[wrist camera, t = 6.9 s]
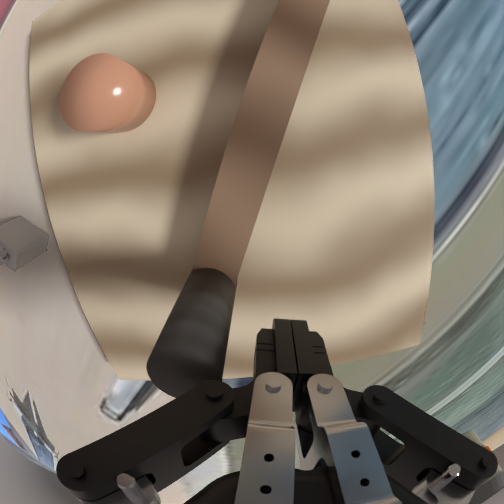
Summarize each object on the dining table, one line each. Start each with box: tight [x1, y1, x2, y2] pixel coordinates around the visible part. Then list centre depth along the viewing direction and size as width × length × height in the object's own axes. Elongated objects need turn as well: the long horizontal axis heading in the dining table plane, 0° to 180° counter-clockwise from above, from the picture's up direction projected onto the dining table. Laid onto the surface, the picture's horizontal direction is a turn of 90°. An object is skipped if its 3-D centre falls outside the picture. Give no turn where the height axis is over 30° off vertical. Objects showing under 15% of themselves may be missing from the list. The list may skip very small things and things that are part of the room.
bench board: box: [29, 0, 434, 380], centre depth 16 cm, size 32×26×2 cm
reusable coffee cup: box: [462, 431, 504, 504], centre depth 25 cm, size 13×12×15 cm
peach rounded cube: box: [60, 53, 156, 132], centre depth 12 cm, size 4×4×4 cm
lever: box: [146, 0, 330, 398], centre depth 10 cm, size 22×3×8 cm, turn 163°
